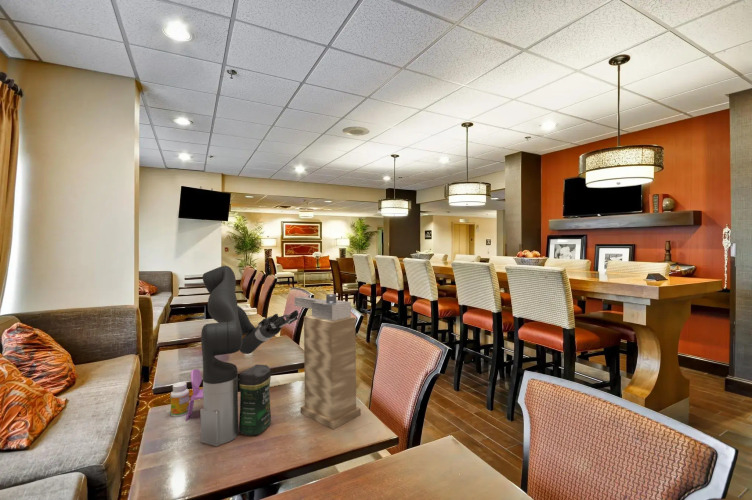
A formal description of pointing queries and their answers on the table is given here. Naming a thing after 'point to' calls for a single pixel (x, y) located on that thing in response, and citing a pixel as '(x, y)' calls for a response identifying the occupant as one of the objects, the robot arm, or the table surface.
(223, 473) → the table surface
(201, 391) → the toy chair
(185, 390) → the supplement bottle
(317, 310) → the lever cap
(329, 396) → the oak pedestal
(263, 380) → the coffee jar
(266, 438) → the table surface
